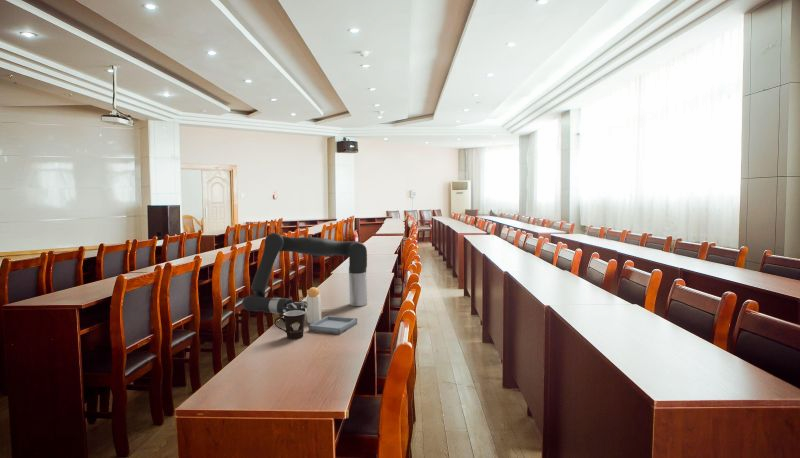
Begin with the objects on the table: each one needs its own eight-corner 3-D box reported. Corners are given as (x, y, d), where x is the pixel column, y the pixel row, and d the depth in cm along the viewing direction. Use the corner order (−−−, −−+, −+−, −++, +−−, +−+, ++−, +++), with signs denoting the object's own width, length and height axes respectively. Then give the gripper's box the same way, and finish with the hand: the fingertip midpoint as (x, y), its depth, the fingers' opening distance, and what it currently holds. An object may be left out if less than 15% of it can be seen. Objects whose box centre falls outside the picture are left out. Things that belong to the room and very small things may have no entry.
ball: (311, 296, 205) (311, 285, 205) (321, 297, 203) (320, 286, 203) (305, 298, 201) (305, 288, 200) (315, 299, 199) (315, 288, 198)
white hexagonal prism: (312, 319, 207) (311, 294, 206) (323, 320, 205) (322, 294, 204) (305, 322, 201) (304, 296, 200) (316, 324, 199) (315, 297, 198)
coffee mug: (308, 333, 185) (307, 310, 184) (302, 340, 177) (301, 316, 176) (281, 333, 186) (280, 310, 185) (274, 340, 178) (273, 315, 177)
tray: (328, 320, 204) (328, 315, 204) (357, 323, 198) (357, 318, 198) (309, 331, 189) (308, 325, 189) (339, 334, 183) (339, 328, 183)
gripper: (271, 301, 202) (301, 304, 196) (289, 294, 216) (318, 297, 210) (271, 317, 203) (301, 320, 197) (290, 310, 216) (318, 312, 210)
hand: (310, 308), depth 203 cm, fingers open, 8 cm apart
